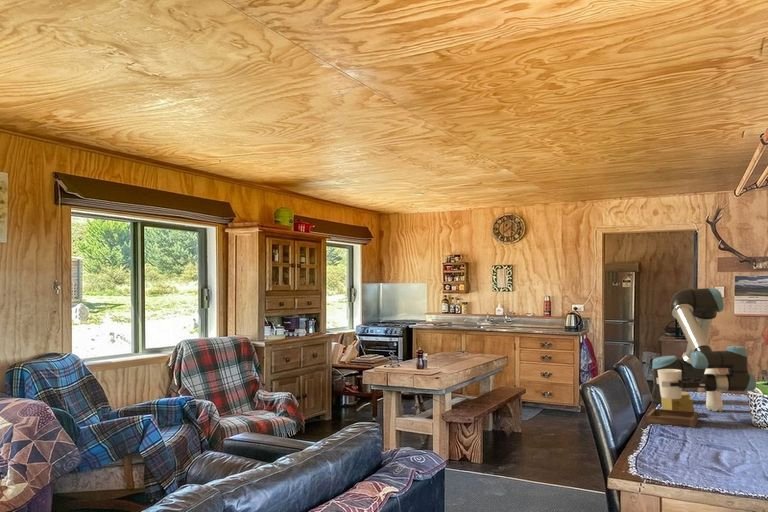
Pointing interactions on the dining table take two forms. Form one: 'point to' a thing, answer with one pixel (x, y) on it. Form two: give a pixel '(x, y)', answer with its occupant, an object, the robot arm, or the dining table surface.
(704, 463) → the dining table surface
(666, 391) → the cream cup
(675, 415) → the walnut crate
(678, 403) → the cheese
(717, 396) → the water bottle
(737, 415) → the dining table surface
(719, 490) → the dining table surface
